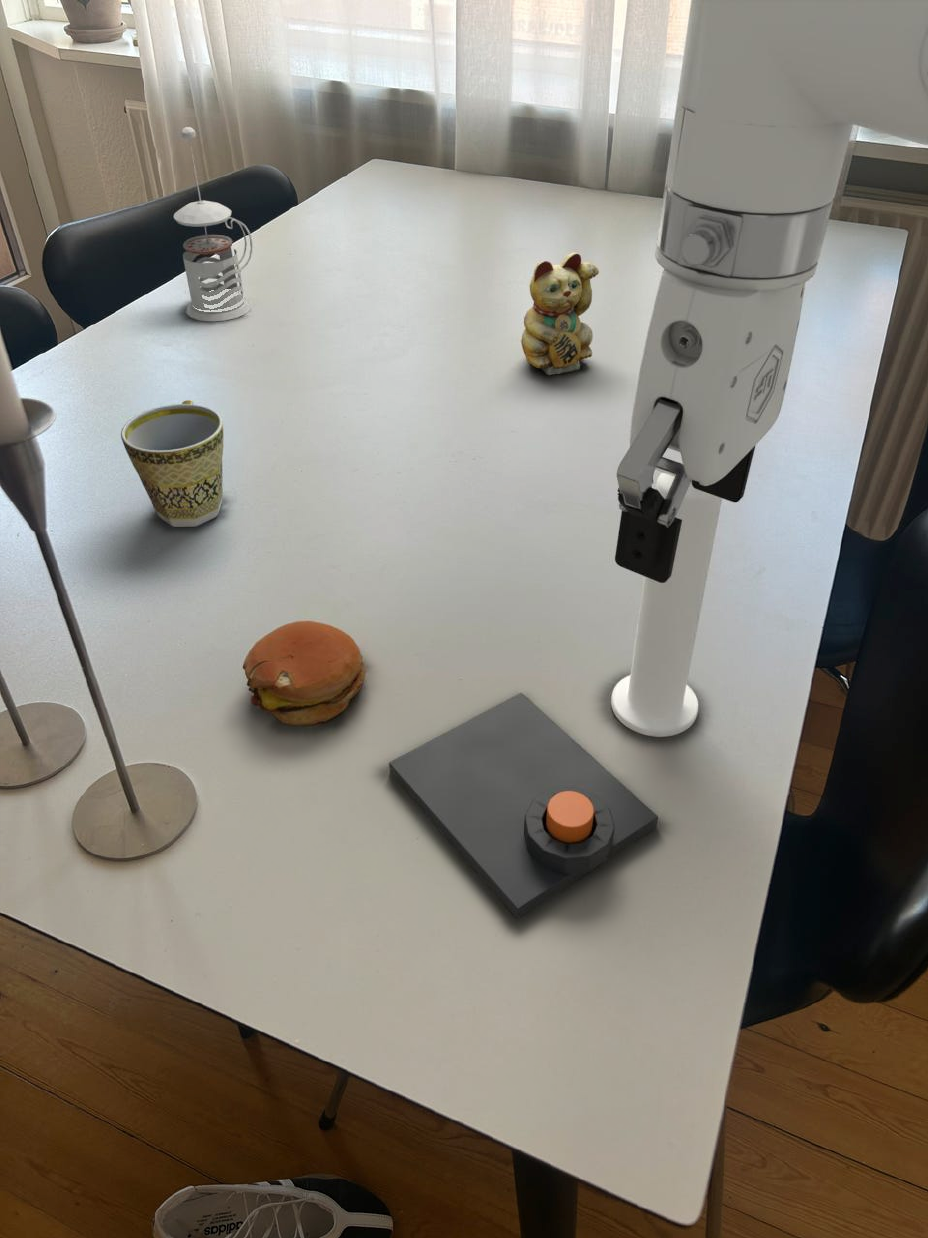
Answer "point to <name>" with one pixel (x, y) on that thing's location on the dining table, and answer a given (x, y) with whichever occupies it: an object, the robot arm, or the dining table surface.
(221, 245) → the french press
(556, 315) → the decorative figurine
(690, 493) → the candle
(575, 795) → the button
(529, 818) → the scale
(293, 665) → the burger
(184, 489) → the ceramic cup
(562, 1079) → the dining table surface
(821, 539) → the dining table surface
